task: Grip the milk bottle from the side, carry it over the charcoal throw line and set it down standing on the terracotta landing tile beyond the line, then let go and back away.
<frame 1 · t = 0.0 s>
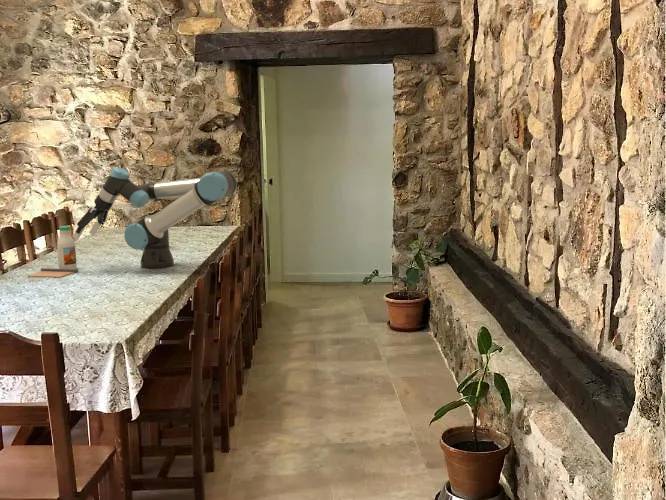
hand: (83, 236, 310), 15 cm above the table, tool tilted 35°, fingers open, 13 cm apart
throw line: (59, 272, 307), on the table
chalice: (152, 249, 368), on the table
landing tile: (50, 275, 300), on the table
milk bottle: (67, 270, 313), on the table
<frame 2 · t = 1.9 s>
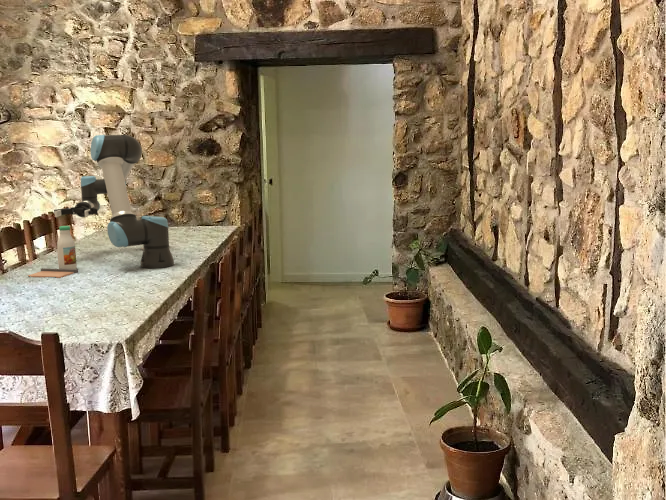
hand: (70, 214, 318), 25 cm above the table, tool horizontal, fingers open, 13 cm apart
nothing on the table moved.
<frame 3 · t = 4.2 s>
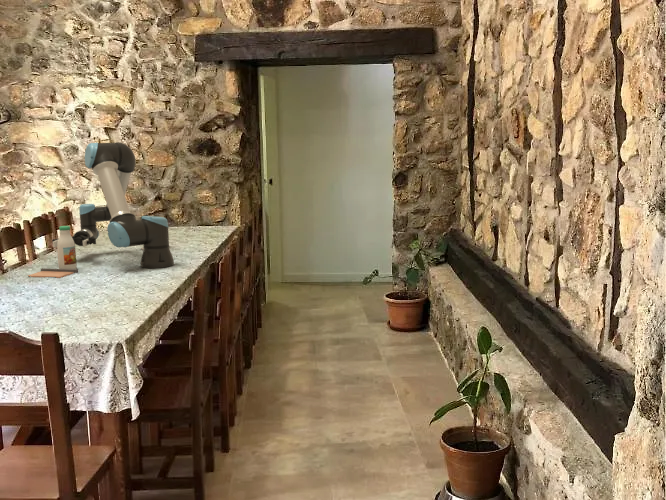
hand: (68, 244, 316), 11 cm above the table, tool horizontal, fingers open, 13 cm apart
nothing on the table moved.
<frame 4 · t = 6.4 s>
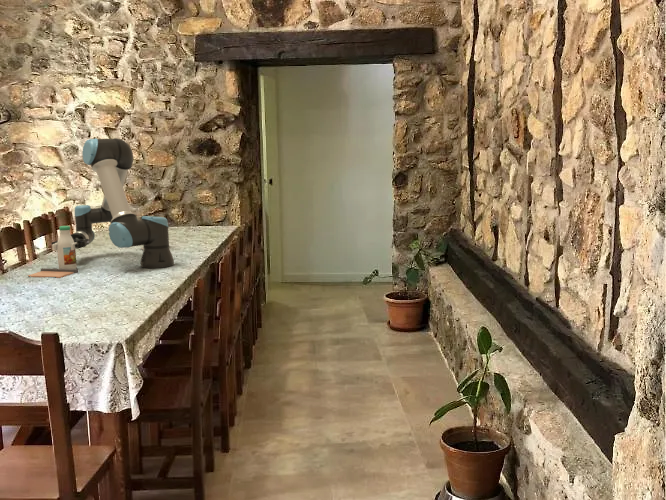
hand: (62, 247, 306), 11 cm above the table, tool horizontal, fingers closed on milk bottle, 8 cm apart
milk bottle: (67, 269, 313), on the table, touching gripper
everything else where it was.
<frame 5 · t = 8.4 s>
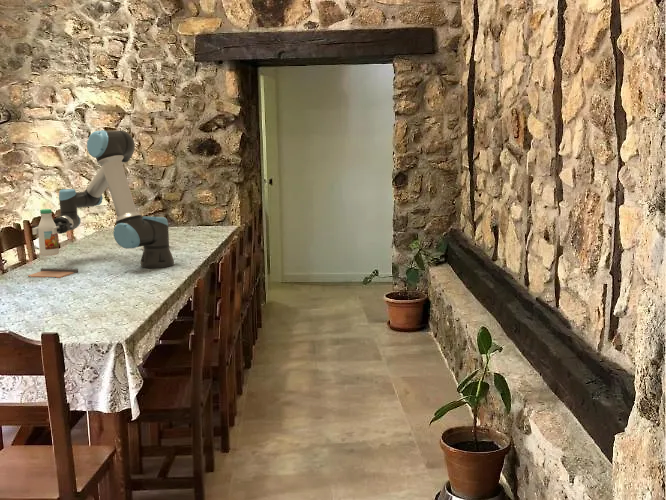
hand: (43, 231, 294), 20 cm above the table, tool horizontal, fingers closed on milk bottle, 8 cm apart
milk bottle: (49, 255, 300), point 9 cm above the table, touching gripper
everything else where it was.
when the fingers open (12 cm above the table, at t = 10.3 s): milk bottle stays where it is, resting on landing tile.
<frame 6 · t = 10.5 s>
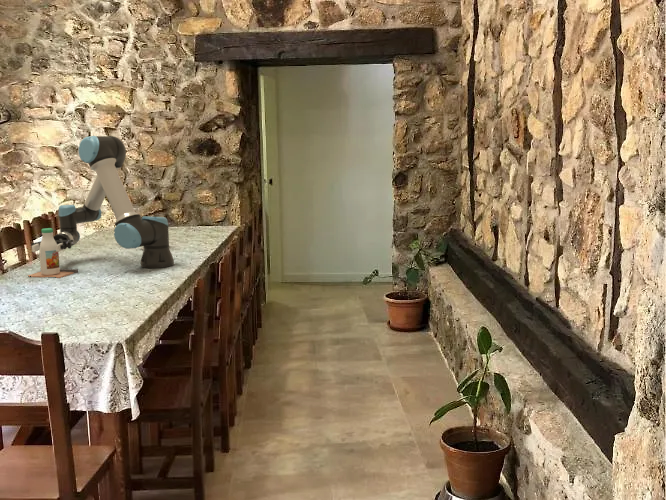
hand: (44, 248, 294), 12 cm above the table, tool horizontal, fingers open, 9 cm apart
milk bottle: (50, 274, 300), resting on landing tile
everything else where it was.
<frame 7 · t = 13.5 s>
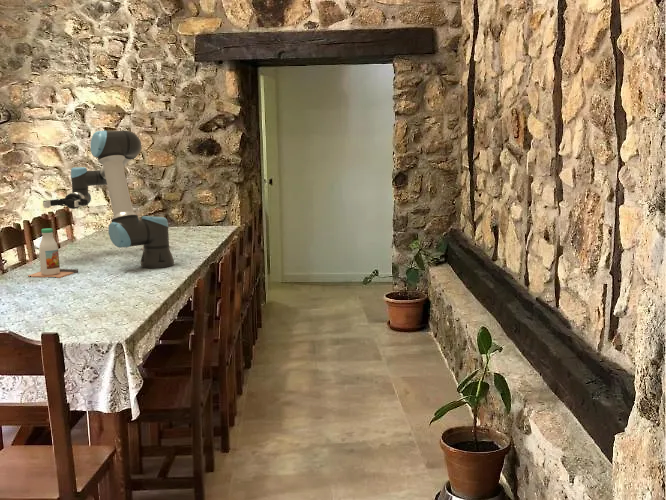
hand: (59, 204, 310), 30 cm above the table, tool horizontal, fingers open, 13 cm apart
nothing on the table moved.
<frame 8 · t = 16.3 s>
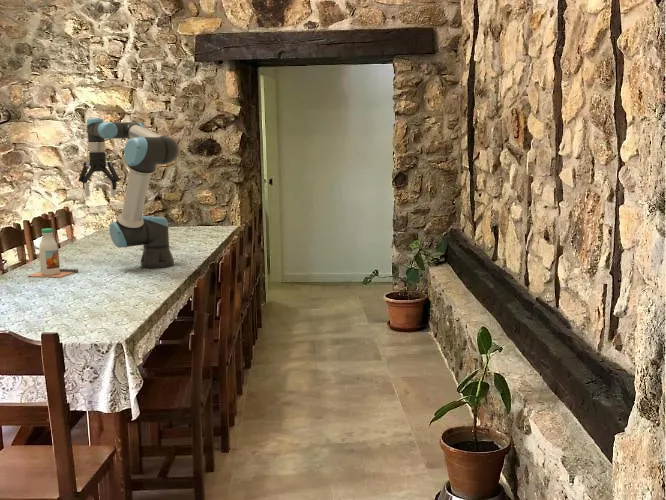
hand: (100, 196, 326), 32 cm above the table, tool pointing down, fingers open, 13 cm apart
nothing on the table moved.
at the end: milk bottle inside the target area (0.1 cm from its centre), resting on landing tile; milk bottle tilted 0°; the gripper is holding nothing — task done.
